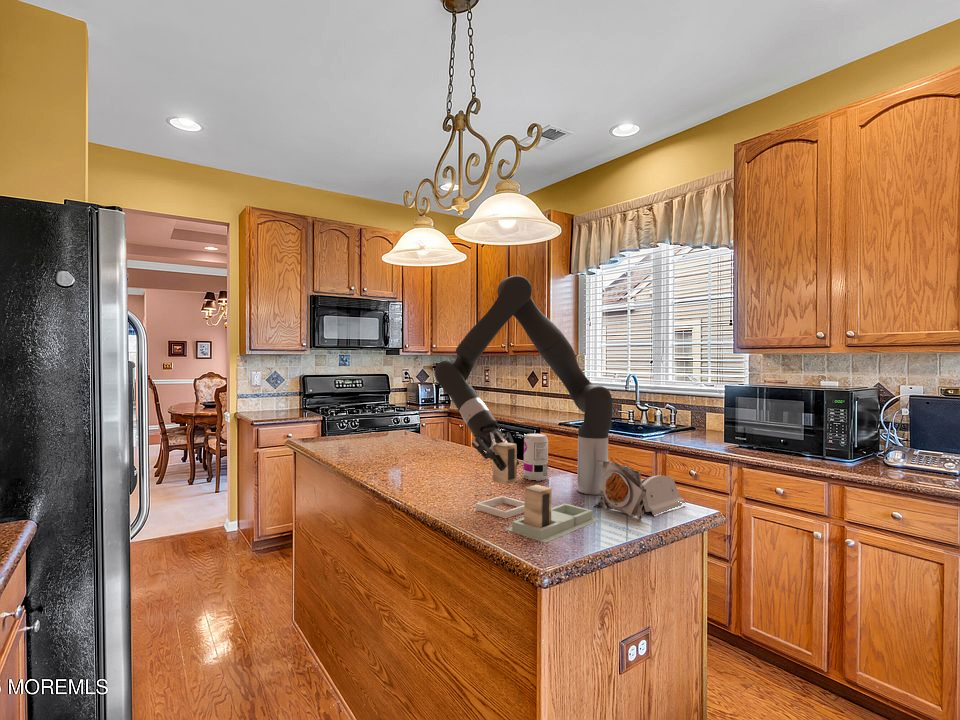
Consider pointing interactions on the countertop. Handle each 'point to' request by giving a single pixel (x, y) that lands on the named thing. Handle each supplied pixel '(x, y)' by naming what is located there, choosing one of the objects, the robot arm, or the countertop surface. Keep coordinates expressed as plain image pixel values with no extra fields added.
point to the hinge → (660, 494)
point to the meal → (621, 489)
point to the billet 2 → (537, 506)
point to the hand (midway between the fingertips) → (510, 467)
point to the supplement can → (535, 457)
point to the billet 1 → (510, 459)
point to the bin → (488, 504)
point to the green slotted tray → (556, 523)
